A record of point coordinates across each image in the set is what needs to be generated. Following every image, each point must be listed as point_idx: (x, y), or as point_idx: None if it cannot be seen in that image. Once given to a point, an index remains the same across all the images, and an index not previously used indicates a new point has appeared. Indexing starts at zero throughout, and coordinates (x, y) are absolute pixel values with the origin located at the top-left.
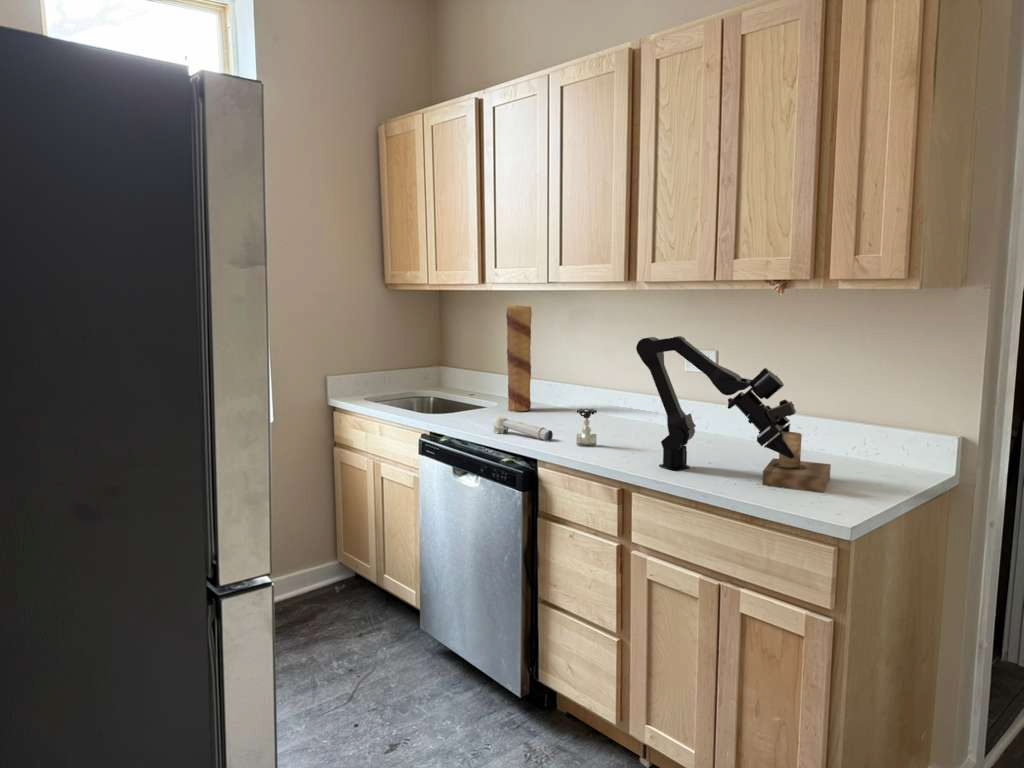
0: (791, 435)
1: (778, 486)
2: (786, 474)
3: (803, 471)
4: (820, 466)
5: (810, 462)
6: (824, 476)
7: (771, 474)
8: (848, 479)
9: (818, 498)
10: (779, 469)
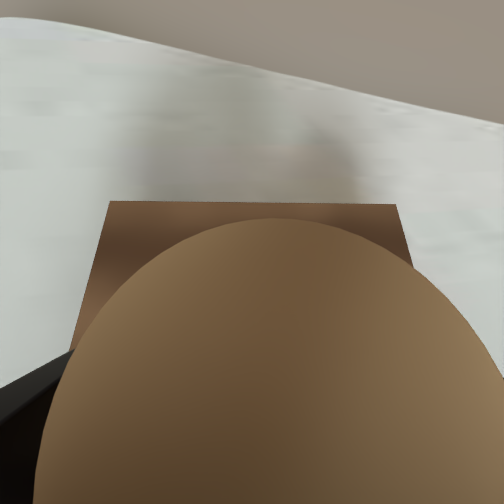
0: (487, 371)
1: None
2: None
3: None
4: (179, 236)
5: (95, 289)
6: (378, 206)
7: None
8: (127, 184)
9: (454, 247)
10: None
